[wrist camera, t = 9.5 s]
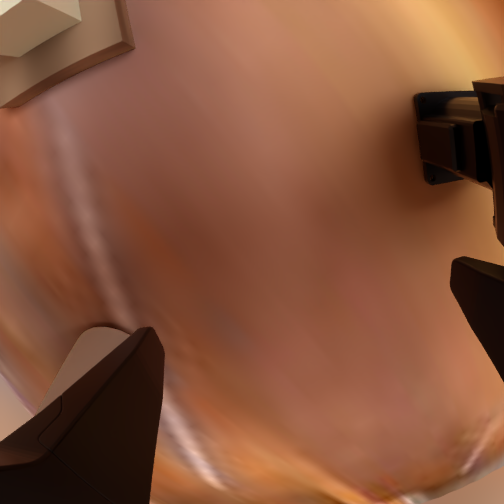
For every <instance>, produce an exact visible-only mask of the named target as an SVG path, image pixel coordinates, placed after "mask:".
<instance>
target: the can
mask: <svg viewBox="0 0 504 504" xmlns="http://www.w3.org/2000/svg"><path fill="white" fill-rule="evenodd" d="M129 336H130V335H129V334H127V333H125V332H123V331H121V330H117V329H113V328H109V327H93V328H91V329H88V330H86V331H84V332H83V333H82V334H81V335H80V337H79V338H78V339H77V341H76V343H75V344H74V346H73V348H72V349H71V351H70V353H69V354H68V356H67V358H66V359H65V361H64V363H63V365H62V366H61V368H60V370H59V372H58V373H57V375H56V377H55V379H54V380H53V382H52V384H51V386H50V388H49V390H48V391H47V393H46V395H45V397H44V399H43V401H42V403H41V405H40V406H39V408H38V410H37V412H36V414H35V415H37V414H38V413H39V412H41V411H42V410H43V409H44V408H45V407H47V406H48V405H49V404H50V403H51V402H53V401H54V400H55V399H56V398H57V397H58V396H60V395H62V393H63V392H64V391H66V390H67V389H68V388H69V387H70V386H71V385H73V384H74V383H75V382H76V381H77V380H78V379H80V378H81V377H82V376H83V375H84V374H85V373H87V372H88V371H89V370H90V369H91V368H92V367H94V366H95V365H96V364H97V363H98V362H100V361H101V360H102V359H103V358H104V357H105V356H107V355H108V354H109V353H110V352H111V351H112V350H114V349H115V348H116V347H117V346H118V345H120V344H121V343H122V342H123V341H124V340H126V339H127V338H128V337H129Z"/></svg>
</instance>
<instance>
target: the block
mask: <svg viewBox="0 0 504 504" xmlns="http://www.w3.org/2000/svg"><path fill="white" fill-rule="evenodd" d="M79 22H81V15H80V8H79V1H78V0H0V55H6V56H13V57H21V56H22V55H24V54H25V53H27V52H28V51H30V50H31V49H33V48H35V47H36V46H38V45H39V44H41V43H43V42H44V41H46V40H48V39H50V38H51V37H53V36H55V35H57V34H58V33H60V32H62V31H64V30H66V29H68V28H70V27H71V26H73V25H75V24H77V23H79Z"/></svg>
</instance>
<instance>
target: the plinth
mask: <svg viewBox="0 0 504 504" xmlns="http://www.w3.org/2000/svg"><path fill="white" fill-rule="evenodd" d="M78 1H79V8H80V15H81V22H79V23H77V24H75V25H73V26H71V27H70V28H68V29H66V30H64V31H62V32H60V33H58V34H57V35H55V36H53V37H51V38H50V39H48V40H46V41H44V42H43V43H41V44H39V45H38V46H36V47H35V48H33V49H31V50H30V51H28V52H27V53H25V54H24V55H22V56H21V57H13V56H6V55H0V109H1V108H11V107H19V106H21V105H22V104H24V103H25V102H27V101H29V100H30V99H32V98H34V97H35V96H37V95H39V94H40V93H42V92H44V91H46V90H47V89H49V88H51V87H53V86H55V85H56V84H58V83H60V82H62V81H64V80H66V79H68V78H70V77H72V76H74V75H76V74H78V73H80V72H82V71H84V70H86V69H88V68H90V67H92V66H94V65H97V64H99V63H101V62H103V61H106V60H108V59H110V58H113V57H115V56H117V55H120V54H122V53H125V52H127V51H130V50H132V49H135V43H134V39H133V34H132V30H131V25H130V20H129V16H128V11H127V6H126V1H125V0H78Z"/></svg>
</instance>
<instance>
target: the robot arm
mask: <svg viewBox="0 0 504 504" xmlns="http://www.w3.org/2000/svg"><path fill="white" fill-rule="evenodd" d="M472 84H473V88H474V91H446V92H425V93H417V94H416V95H415V97H414V102H415V107H416V113H417V119H418V123H417V130H418V137H419V145H420V153H421V159H422V160H423V167H424V178H425V181H426V182H427V183H428V184H430V185H436V184H441V183H447V182H452V181H457V180H462V179H467V180H469V181H471V182H474V183H476V184H479V185H481V186H483V187H486V188H488V189H490V190H493V202H494V216H493V225H494V227H495V230H496V234H497V239H498V240H499V241H500V242H501V244H502V245H503V246H504V77H497V78H490V79H483V80H477V81H472ZM421 97H422V98H423V103H421V101H420V98H421ZM431 175H433V179H432V180H430V177H431ZM450 288H451V291H452V293H453V294H454V296H455V298H456V300H457V302H458V304H459V306H460V307H461V309H462V311H463V313H464V315H465V317H466V319H467V321H468V323H469V325H470V326H471V328H472V330H473V331H474V333H475V335H476V336H477V338H478V339H479V341H480V343H481V344H482V346H483V348H484V349H485V351H486V352H487V354H488V356H489V357H490V359H491V361H492V363H493V364H494V366H495V368H496V369H497V371H498V373H499V375H500V377H501V378H502V380H503V382H504V266H501V265H497V264H493V263H489V262H485V261H481V260H478V259H474V258H470V257H466V256H462V257H459V258H456V259H454V260H453V261H452V264H451V277H450ZM164 359H165V353H164V348H163V346H162V344H161V342H160V340H159V338H158V336H157V334H156V332H155V330H154V328H153V327H143V328H139V329H137V330H136V331H135V332H134V333H133V334H131V335H130V336H129V337H128V338H127V339H126V340H124V341H123V342H122V343H121V344H120V345H118V346H117V347H116V348H115V349H114V350H112V351H111V352H110V353H109V354H108V355H107V356H105V357H104V358H103V359H102V360H101V361H100V362H98V363H97V364H96V365H95V366H94V367H92V368H91V369H90V370H89V371H88V372H87V373H85V374H84V375H83V376H82V377H81V378H80V379H78V380H77V381H76V382H75V383H74V384H73V385H71V386H70V387H69V388H68V389H67V390H66V391H64V392H63V393H62V395H60V396H58V397H57V398H56V399H55V400H54V401H53V402H51V403H50V404H49V405H48V406H47V407H45V408H44V409H43V410H42V411H41V412H39V413H38V414H37V415H35V416H34V417H33V418H32V419H30V420H29V421H28V422H26V423H25V424H24V425H22V426H21V427H20V428H18V429H17V430H16V431H14V432H13V433H11V434H10V435H9V436H7V437H6V438H5V439H3V440H2V441H0V504H149V501H150V492H151V482H152V474H153V465H154V457H155V449H156V442H157V434H158V427H159V420H160V413H161V407H162V399H163V381H164Z"/></svg>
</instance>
